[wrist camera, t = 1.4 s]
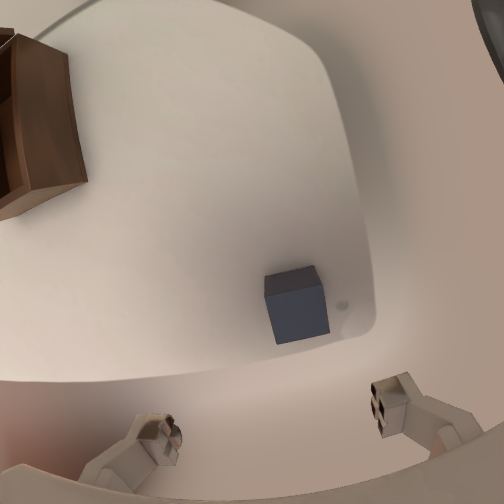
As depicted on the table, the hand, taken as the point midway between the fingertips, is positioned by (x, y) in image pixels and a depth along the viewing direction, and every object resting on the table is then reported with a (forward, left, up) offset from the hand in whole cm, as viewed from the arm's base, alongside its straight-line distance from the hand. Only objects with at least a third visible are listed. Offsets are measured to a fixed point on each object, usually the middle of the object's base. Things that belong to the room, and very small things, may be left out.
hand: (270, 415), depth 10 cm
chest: (+3, -28, -17) cm, 33 cm away
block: (0, +3, -17) cm, 17 cm away
